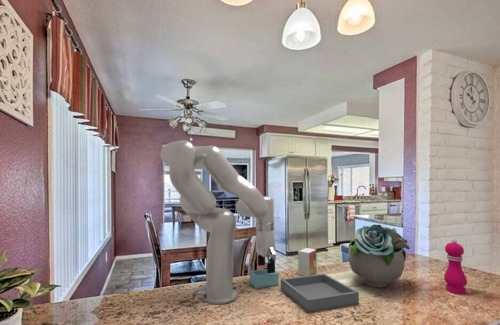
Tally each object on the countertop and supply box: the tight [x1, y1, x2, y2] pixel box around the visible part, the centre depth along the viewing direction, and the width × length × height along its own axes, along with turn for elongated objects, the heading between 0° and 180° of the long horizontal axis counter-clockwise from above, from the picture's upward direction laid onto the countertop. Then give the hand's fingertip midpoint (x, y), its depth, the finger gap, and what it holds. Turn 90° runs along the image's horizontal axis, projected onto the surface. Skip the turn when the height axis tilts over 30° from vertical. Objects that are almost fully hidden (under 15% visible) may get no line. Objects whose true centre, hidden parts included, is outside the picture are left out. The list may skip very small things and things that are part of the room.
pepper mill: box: [443, 238, 468, 295], centre depth 109 cm, size 7×7×20 cm
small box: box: [297, 247, 317, 276], centre depth 128 cm, size 8×6×10 cm
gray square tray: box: [280, 273, 360, 314], centre depth 102 cm, size 20×20×4 cm
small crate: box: [249, 268, 280, 290], centre depth 114 cm, size 10×6×5 cm, turn 110°
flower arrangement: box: [347, 224, 411, 288], centre depth 116 cm, size 25×25×24 cm
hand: (266, 268), depth 114 cm, fingers open, 9 cm apart
